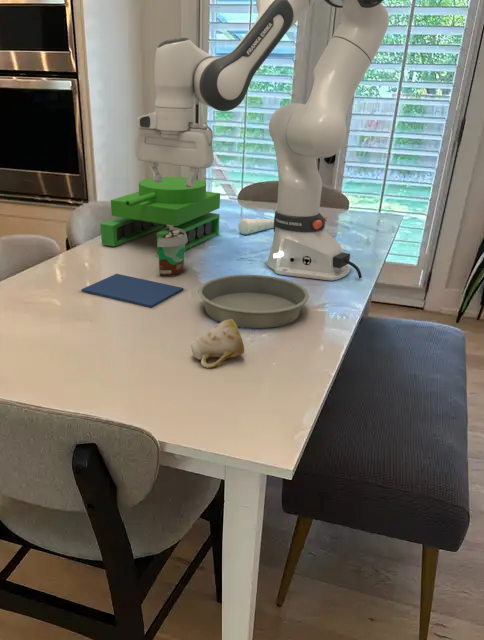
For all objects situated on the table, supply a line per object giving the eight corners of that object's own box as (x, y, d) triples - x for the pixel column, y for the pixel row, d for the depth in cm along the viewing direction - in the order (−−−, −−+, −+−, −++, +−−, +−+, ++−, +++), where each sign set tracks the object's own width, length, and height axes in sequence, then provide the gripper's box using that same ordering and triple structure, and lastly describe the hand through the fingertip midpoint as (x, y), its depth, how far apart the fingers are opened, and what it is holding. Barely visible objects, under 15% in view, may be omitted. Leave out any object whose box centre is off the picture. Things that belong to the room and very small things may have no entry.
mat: (183, 290, 147) (183, 287, 146) (151, 307, 136) (151, 305, 136) (116, 275, 155) (116, 273, 154) (81, 291, 144) (81, 289, 144)
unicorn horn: (298, 225, 203) (299, 210, 201) (247, 236, 190) (247, 220, 188) (288, 222, 206) (289, 208, 204) (237, 233, 193) (237, 217, 191)
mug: (182, 353, 117) (204, 306, 115) (226, 372, 120) (248, 326, 118) (189, 361, 110) (212, 310, 108) (236, 381, 113) (259, 332, 111)
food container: (181, 280, 153) (181, 240, 147) (158, 278, 154) (157, 238, 148) (192, 265, 163) (192, 228, 158) (170, 264, 164) (169, 226, 159)
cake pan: (310, 296, 145) (312, 278, 142) (302, 337, 124) (305, 316, 122) (210, 287, 149) (210, 269, 146) (186, 325, 128) (186, 305, 126)
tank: (89, 249, 174) (84, 190, 165) (154, 224, 200) (153, 171, 191) (161, 263, 164) (159, 201, 156) (219, 234, 191) (221, 180, 182)
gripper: (219, 123, 138) (217, 187, 145) (146, 116, 146) (147, 177, 153) (205, 125, 133) (203, 191, 140) (130, 118, 141) (132, 181, 149)
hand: (173, 184), depth 147 cm, fingers open, 8 cm apart
